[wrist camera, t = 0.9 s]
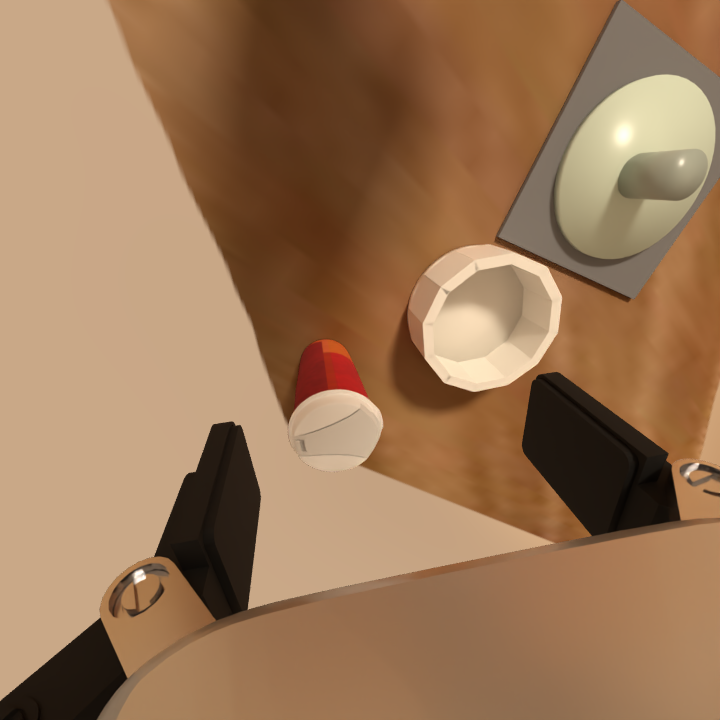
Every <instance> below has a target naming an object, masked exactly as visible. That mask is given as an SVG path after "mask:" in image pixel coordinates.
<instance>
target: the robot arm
mask: <svg viewBox="0 0 720 720" xmlns="http://www.w3.org/2000/svg"><path fill="white" fill-rule="evenodd" d="M522 448H523V452H524V454H525V455H526V456H527V458H528V459H529V460H530V461H531V463H532V464H533V465H534V466H535V467H536V469H537V470H538V471H539V472H540V473H541V475H542V476H543V477H544V478H545V480H546V481H547V482H548V483H549V484H550V486H551V487H552V488H553V489H554V490H555V492H556V493H557V494H558V495H559V496H560V498H561V499H562V500H563V501H564V503H565V504H566V505H567V506H568V507H569V509H570V510H571V511H572V512H573V513H574V515H575V516H576V517H577V518H578V520H579V521H580V522H581V523H582V524H583V526H584V527H585V528H586V529H587V530H588V532H589V533H590V534H591V535H592V536H591V537H586V538H581V539H576V540H571V541H565V542H560V543H555V544H550V545H545V546H540V547H535V548H530V549H525V550H520V551H515V552H510V553H505V554H500V555H495V556H490V557H485V558H481V559H476V560H471V561H466V562H461V563H456V564H451V565H446V566H441V567H437V568H431V569H427V570H422V571H417V572H412V573H407V574H402V575H398V576H393V577H388V578H383V579H378V580H374V581H369V582H364V583H359V584H355V585H350V586H345V587H340V588H336V589H332V590H327V591H322V592H318V593H313V594H309V595H305V596H300V597H296V598H291V599H287V600H282V601H278V602H274V603H270V604H267V605H263V606H260V607H256V608H252V609H249V610H247V609H248V602H249V593H250V585H251V577H252V568H253V560H254V552H255V543H256V534H257V526H258V518H259V510H260V500H261V496H260V489H259V486H258V482H257V478H256V475H255V471H254V468H253V464H252V461H251V457H250V454H249V450H248V447H247V443H246V440H245V436H244V433H243V429H242V427H241V425H237V426H235V424H234V422H226V423H219V424H214V425H213V426H212V427H211V431H210V433H209V436H208V439H207V442H206V444H205V448H204V450H203V453H202V456H201V458H200V461H199V464H198V467H197V470H196V472H193V473H188V474H187V475H186V477H185V478H184V480H183V483H182V486H181V488H180V491H179V493H178V496H177V499H176V501H175V504H174V506H173V509H172V512H171V514H170V517H169V519H168V522H167V525H166V527H165V530H164V533H163V535H162V538H161V540H160V543H159V545H158V548H157V551H156V553H155V556H154V557H151V558H147V559H145V560H142V561H139V562H137V563H136V564H134V565H132V566H131V567H129V568H127V569H126V570H125V571H124V572H123V573H121V574H120V575H119V576H118V577H117V578H116V579H115V580H114V581H113V583H112V584H111V585H110V586H109V587H108V589H107V591H106V593H105V594H104V596H103V598H102V601H101V606H100V616H101V618H99V619H98V620H97V621H96V622H95V623H93V624H92V625H91V626H90V627H89V628H87V629H86V630H85V631H84V632H83V633H81V634H80V635H79V636H78V637H77V638H75V639H74V640H73V641H72V642H71V643H69V644H68V645H67V646H66V647H65V648H63V649H62V650H61V651H60V652H59V653H57V654H56V655H55V656H54V657H53V658H51V659H50V660H49V661H48V662H47V663H45V664H44V665H43V666H42V667H41V668H39V669H38V670H37V671H36V672H34V673H33V674H32V675H31V676H30V677H28V678H27V679H26V680H25V681H24V682H23V683H21V684H20V685H19V686H18V687H16V688H15V689H14V690H13V691H12V692H10V693H9V694H8V695H7V696H6V697H4V698H3V699H2V700H1V701H0V720H720V466H718V465H716V464H713V463H709V462H706V461H702V460H696V459H682V460H678V461H676V462H675V463H674V464H672V465H671V464H670V463H668V462H667V461H666V459H667V456H668V454H669V453H667V452H666V451H665V450H663V449H662V448H661V447H659V446H658V445H656V444H655V443H654V442H652V441H651V440H650V439H648V438H647V437H646V436H644V435H643V434H642V433H640V432H639V431H637V430H636V429H635V428H633V427H632V426H631V425H629V424H628V423H627V422H625V421H624V420H623V419H621V418H620V417H619V416H617V415H616V414H614V413H613V412H612V411H610V410H609V409H608V408H606V407H605V406H604V405H602V404H601V403H600V402H598V401H597V400H595V399H594V398H593V397H591V396H590V395H589V394H587V393H586V392H585V391H583V390H582V389H581V388H579V387H578V386H577V385H575V384H574V383H572V382H571V381H570V380H568V379H567V378H566V377H564V376H563V375H562V374H560V373H558V372H553V373H546V374H540V375H538V376H537V378H536V380H533V382H532V385H531V391H530V397H529V404H528V410H527V416H526V422H525V429H524V435H523V441H522Z"/></svg>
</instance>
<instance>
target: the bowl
mask: <svg viewBox="0 0 720 720" xmlns="http://www.w3.org/2000/svg"><path fill="white" fill-rule="evenodd" d="M561 303H562V296H561V294H560V292H559V290H558V288H557V286H556V284H555V282H554V280H553V278H552V276H551V274H550V272H549V270H548V268H547V267H546V266H544V265H542V264H539V263H537V262H535V261H533V260H530V259H528V258H526V257H524V256H522V255H519V254H517V253H515V252H512V251H509V250H506V249H503V248H500V247H496V246H493V245H490V244H486V245H468V246H464V247H460V248H457V249H454V250H452V251H450V252H448V253H446V254H444V255H442V256H441V257H439V258H438V259H437V260H435V261H434V262H433V263H432V264H431V265H430V266H429V267H428V268H427V269H426V270H425V271H424V272H423V273H422V275H421V276H420V278H419V279H418V281H417V282H416V284H415V286H414V288H413V290H412V293H411V296H410V299H409V303H408V310H407V322H408V328H409V332H410V335H411V340H412V341H413V343H414V344H415V346H416V347H417V348H418V350H419V351H420V353H421V354H422V355H423V357H424V358H425V360H426V361H427V362H428V363H429V365H430V366H431V367H432V368H433V370H434V371H435V372H436V373H437V375H438V376H439V377H440V378H441V380H442V381H443V382H444V383H446V384H449V385H452V386H456V387H459V388H463V389H466V390H469V391H473V392H476V391H481V390H486V389H491V388H496V387H500V386H505V385H508V384H510V383H511V382H513V381H514V380H515V379H517V378H518V377H520V376H521V375H523V374H524V373H525V372H527V371H528V370H530V369H531V368H533V367H534V366H535V365H537V364H538V363H539V361H540V360H541V358H542V356H543V355H544V353H545V352H546V350H547V349H548V347H549V345H550V344H551V342H552V341H553V339H554V338H555V336H556V335H557V333H558V327H559V319H560V311H561Z"/></svg>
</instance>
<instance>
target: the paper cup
mask: <svg viewBox="0 0 720 720" xmlns="http://www.w3.org/2000/svg"><path fill="white" fill-rule="evenodd" d="M382 428H383V419H382V415H381V412H380V410H379V409H378V408H377V407H376V406H375V405H374V404H373V403H372V402H371V401H370V400H369V398H368V396H367V393H366V391H365V389H364V387H363V384H362V382H361V380H360V377H359V375H358V373H357V371H356V368H355V366H354V364H353V362H352V359H351V357H350V355H349V353H348V352H347V350H346V349H345V347H344V346H343V345H341V344H340V343H339V342H337V341H334V340H330V339H322V340H318V341H315V342H313V343H311V344H310V345H309V346H308V347H307V348H306V349H305V350H304V352H303V354H302V356H301V360H300V366H299V373H298V380H297V385H296V394H295V406H294V412H293V414H292V416H291V418H290V420H289V425H288V437H289V441H290V443H291V446H292V447H293V449H294V450H295V451H296V453H297V454H298V456H299V458H300V459H301V460H302V461H303V462H304V463H306V464H307V465H308V466H310V467H312V468H314V469H317V470H321V471H326V472H339V471H344V470H348V469H351V468H354V467H356V466H358V465H359V464H361V463H362V462H364V461H365V460H366V459H367V458H368V457H369V455H370V454H371V453H372V451H373V449H374V448H375V445H376V443H377V442H378V439H379V437H380V434H381V430H382Z"/></svg>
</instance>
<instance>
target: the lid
mask: <svg viewBox="0 0 720 720" xmlns="http://www.w3.org/2000/svg"><path fill="white" fill-rule="evenodd" d="M714 147H715V121H714V116H713V112H712V108H711V106H710V103H709V101H708V99H707V97H706V96H705V94H704V93H703V92H702V90H701V89H700V88H699V87H698V86H697V85H695V84H694V83H693V82H691V81H689V80H688V79H686V78H683V77H680V76H676V75H668V74H666V75H655V76H651V77H646V78H643V79H639V80H636V81H634V82H631V83H628V84H626V85H624V86H622V87H620V88H619V89H617V90H615V91H613V92H612V93H611V94H609V95H608V96H607V97H605V98H604V99H603V100H602V101H601V102H599V103H598V104H597V105H596V106H595V107H594V108H593V109H592V110H591V111H590V112H589V114H588V115H587V116H586V117H585V118H584V119H583V121H582V122H581V123H580V125H579V126H578V128H577V129H576V131H575V132H574V134H573V136H572V137H571V139H570V141H569V143H568V145H567V147H566V149H565V151H564V153H563V156H562V159H561V161H560V164H559V168H558V171H557V175H556V180H555V187H554V211H555V216H556V220H557V223H558V226H559V229H560V231H561V233H562V234H563V236H564V238H565V239H566V240H567V241H568V243H569V244H570V245H571V246H572V247H574V248H575V249H576V250H578V251H580V252H581V253H583V254H586V255H589V256H592V257H596V258H601V259H619V258H624V257H628V256H631V255H634V254H636V253H639V252H641V251H643V250H645V249H647V248H649V247H650V246H652V245H653V244H655V243H656V242H658V241H659V240H660V239H662V238H663V237H664V236H665V235H667V234H668V233H669V232H670V231H671V230H672V229H673V228H674V227H675V226H676V225H677V224H678V223H679V222H680V220H681V219H682V218H683V217H684V216H685V214H686V213H687V212H688V210H689V209H690V208H691V206H692V204H693V203H694V201H695V200H696V198H697V196H698V194H699V193H700V191H701V189H702V187H703V185H704V182H705V180H706V177H707V175H708V172H709V169H710V166H711V162H712V158H713V153H714Z"/></svg>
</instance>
